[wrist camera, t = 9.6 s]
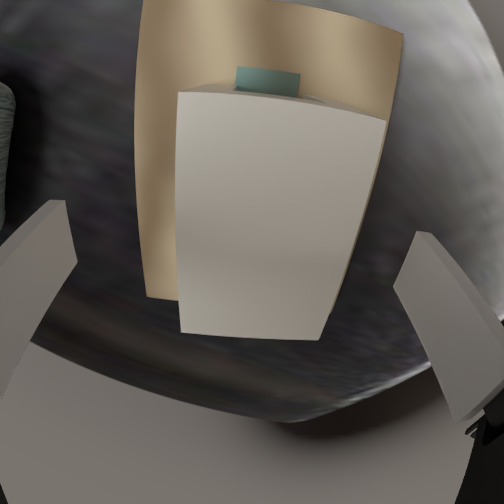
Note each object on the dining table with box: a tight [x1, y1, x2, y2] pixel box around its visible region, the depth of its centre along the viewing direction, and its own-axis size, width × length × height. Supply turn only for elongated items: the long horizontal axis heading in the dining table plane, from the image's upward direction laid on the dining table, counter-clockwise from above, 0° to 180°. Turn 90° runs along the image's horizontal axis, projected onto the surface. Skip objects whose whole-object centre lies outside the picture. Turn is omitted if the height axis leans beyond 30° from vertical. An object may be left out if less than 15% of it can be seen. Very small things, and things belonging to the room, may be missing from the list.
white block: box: [175, 84, 386, 340], centre depth 14 cm, size 6×10×7 cm, turn 174°
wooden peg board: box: [134, 0, 404, 313], centre depth 15 cm, size 14×20×6 cm
